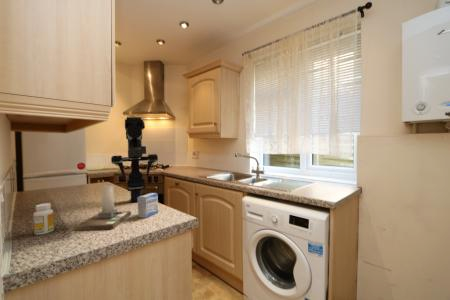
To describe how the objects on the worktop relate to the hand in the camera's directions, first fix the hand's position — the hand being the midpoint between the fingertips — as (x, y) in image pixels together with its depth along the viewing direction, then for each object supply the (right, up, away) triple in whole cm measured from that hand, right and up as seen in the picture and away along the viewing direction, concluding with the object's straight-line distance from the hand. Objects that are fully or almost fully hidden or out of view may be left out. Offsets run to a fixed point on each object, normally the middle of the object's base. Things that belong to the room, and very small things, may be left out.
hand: (136, 178), depth 94 cm
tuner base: (-8, -16, -10) cm, 20 cm away
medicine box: (+6, -16, -2) cm, 17 cm away
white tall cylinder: (-7, -14, -8) cm, 17 cm away
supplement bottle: (-25, -17, -18) cm, 35 cm away
